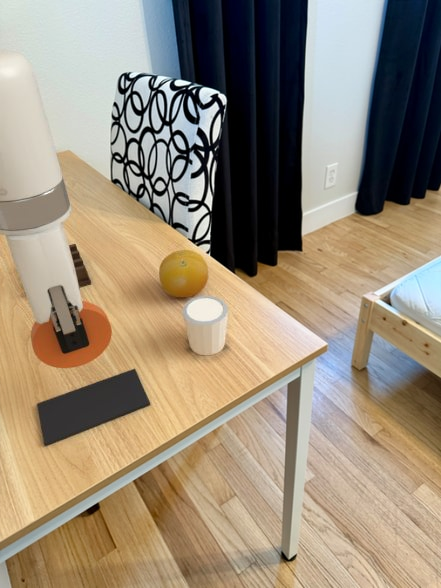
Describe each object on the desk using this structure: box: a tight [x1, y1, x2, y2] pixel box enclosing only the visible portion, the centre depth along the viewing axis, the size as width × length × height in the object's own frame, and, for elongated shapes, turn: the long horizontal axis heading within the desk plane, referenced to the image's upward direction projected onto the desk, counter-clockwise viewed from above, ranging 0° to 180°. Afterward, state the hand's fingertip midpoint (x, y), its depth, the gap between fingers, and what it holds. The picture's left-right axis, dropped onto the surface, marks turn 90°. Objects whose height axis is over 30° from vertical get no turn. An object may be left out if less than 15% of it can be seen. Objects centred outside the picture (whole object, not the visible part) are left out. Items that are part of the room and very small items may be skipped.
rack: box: [68, 243, 92, 288], centre depth 83 cm, size 10×11×4 cm
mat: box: [36, 368, 151, 447], centre depth 59 cm, size 14×7×1 cm, turn 116°
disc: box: [30, 300, 113, 369], centre depth 51 cm, size 9×2×9 cm, turn 116°
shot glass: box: [182, 295, 229, 356], centre depth 66 cm, size 7×7×7 cm
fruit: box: [158, 249, 209, 298], centre depth 76 cm, size 9×8×8 cm
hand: (74, 341), depth 52 cm, fingers closed on disc, 1 cm apart
